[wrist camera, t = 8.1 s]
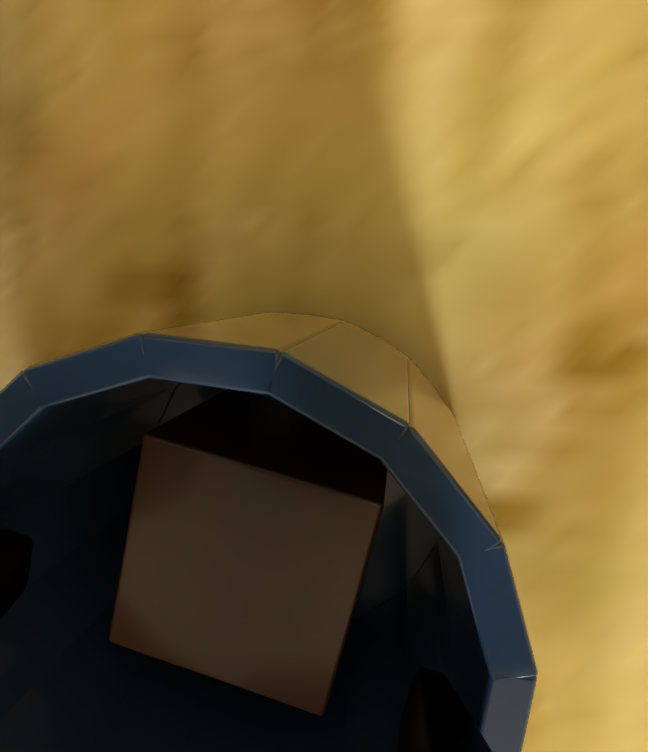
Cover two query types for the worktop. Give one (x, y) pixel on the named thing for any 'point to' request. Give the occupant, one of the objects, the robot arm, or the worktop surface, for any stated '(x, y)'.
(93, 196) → the worktop surface
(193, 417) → the brown cube
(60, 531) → the cup
